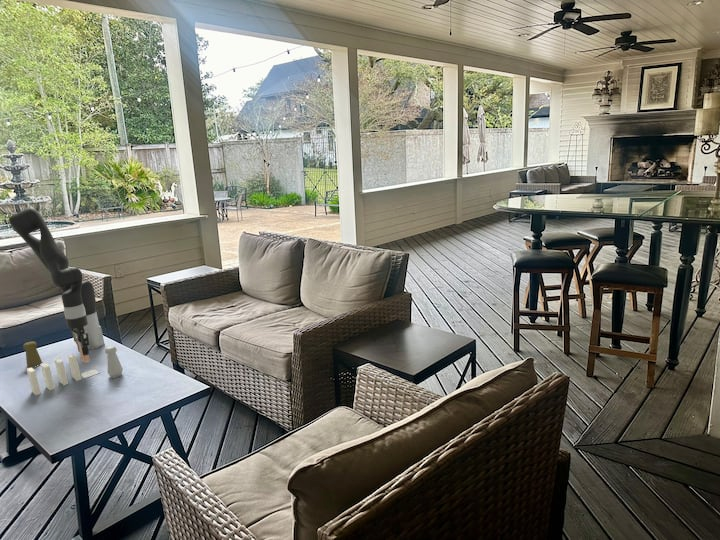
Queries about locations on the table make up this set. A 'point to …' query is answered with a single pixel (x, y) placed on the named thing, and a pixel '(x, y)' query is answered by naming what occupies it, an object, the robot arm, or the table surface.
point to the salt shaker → (113, 362)
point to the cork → (32, 354)
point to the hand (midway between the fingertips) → (83, 353)
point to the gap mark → (89, 373)
